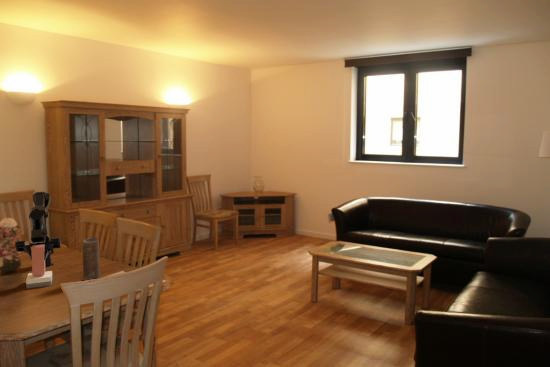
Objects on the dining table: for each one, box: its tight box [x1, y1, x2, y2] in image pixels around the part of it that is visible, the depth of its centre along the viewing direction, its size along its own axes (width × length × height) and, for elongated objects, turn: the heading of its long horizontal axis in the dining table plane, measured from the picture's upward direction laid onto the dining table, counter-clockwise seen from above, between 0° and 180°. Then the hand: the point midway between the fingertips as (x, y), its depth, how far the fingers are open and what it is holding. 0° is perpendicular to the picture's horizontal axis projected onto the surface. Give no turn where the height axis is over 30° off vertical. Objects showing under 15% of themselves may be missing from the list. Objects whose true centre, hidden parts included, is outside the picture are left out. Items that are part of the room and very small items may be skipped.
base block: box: [25, 270, 53, 289], centre depth 209 cm, size 10×10×4 cm
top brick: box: [31, 244, 46, 276], centre depth 208 cm, size 5×5×13 cm
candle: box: [81, 237, 101, 281], centre depth 213 cm, size 8×7×20 cm
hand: (38, 260), depth 207 cm, fingers closed on top brick, 5 cm apart
